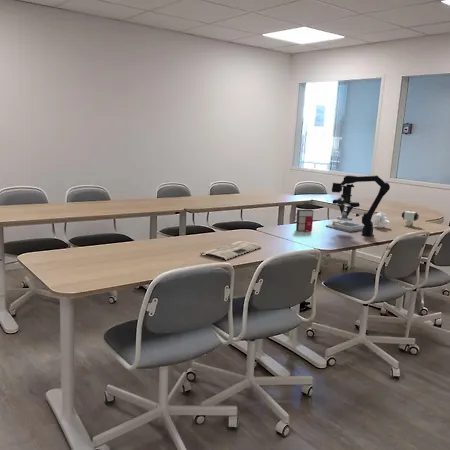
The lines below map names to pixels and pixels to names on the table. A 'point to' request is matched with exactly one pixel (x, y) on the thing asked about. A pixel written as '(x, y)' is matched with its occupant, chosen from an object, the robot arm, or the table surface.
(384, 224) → the white lumpy lump
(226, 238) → the table surface
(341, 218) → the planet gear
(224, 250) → the newspaper
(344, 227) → the carrier plate
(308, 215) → the grey and red box
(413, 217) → the pneumatic valve
